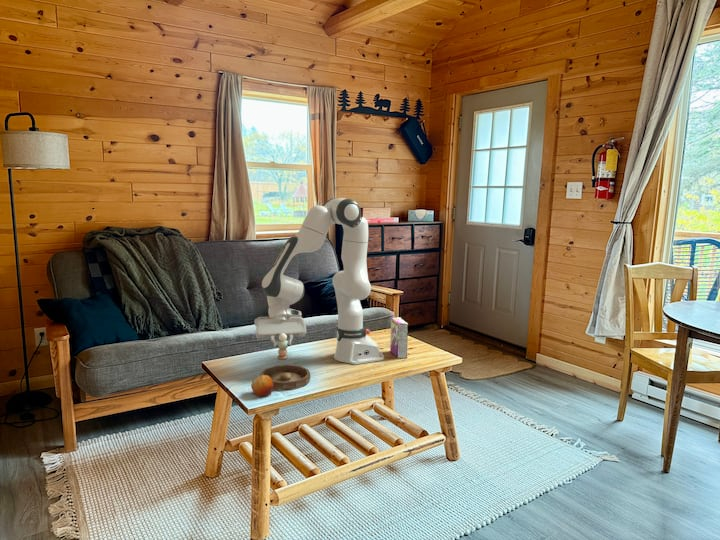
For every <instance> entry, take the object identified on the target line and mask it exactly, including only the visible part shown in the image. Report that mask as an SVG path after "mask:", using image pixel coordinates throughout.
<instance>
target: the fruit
mask: <svg viewBox="0 0 720 540" xmlns="http://www.w3.org/2000/svg"><path fill="white" fill-rule="evenodd" d="M250 385H251V389H252V392H253V393H254V394H255V395H256V396H257V397H260V398H263V397H267V396H271V395H272V392H273V390H274V389H273V386H274V383H273V380H272V379H271V378H270V377H269V376H268V375H262V376H260V375H259V376H257V377H256V378H255V379H254V380H253V381H252V383H251V384H250Z"/></svg>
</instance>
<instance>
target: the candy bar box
mask: <svg viewBox="0 0 720 540" xmlns="http://www.w3.org/2000/svg"><path fill="white" fill-rule="evenodd" d="M408 330H409V323H408V322H407V321H405V320H404V319H403V318H402V317H390V350H389V351H390V353H391V354H393V356H395V357H396V359H398V360H399V359H408V340H409V339H408V336H409V335H408V334H409V331H408Z"/></svg>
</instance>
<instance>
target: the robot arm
mask: <svg viewBox="0 0 720 540" xmlns="http://www.w3.org/2000/svg"><path fill="white" fill-rule="evenodd" d="M333 224H337V225H341V226H342V228H343V236H342V245H341V255H340V256H341V261H342V265H343V270H339V271H337V272H336V273H334V275H333V277H332V282H331V283H332V286H333V288H334V293H335V299H336V305H337V327H336V349H335V352H334V355H333V359H335V360H336V361H337V362H341V363H345V364H350V365H361V364H366V363H367V364H368V363H373V362H378V361H379V362H380V361H384V360H385V355H384V354H383V352H381V351H380V349H379V345H378V343H377V341H375V340H374V339H373V338H371V337H370V336H369V335H370V333H371V330H370V329H368V328H366V327H364V325H363V324H364V322H363V321H364V311H363V307H362V304H361V301H363V300H366V299H367V298H368V297H369V296H370V295H371V291H372V285H371V283H370V280H369V274H368V265H367V259H368V257H367V256H368V247H369V246H368V245H369V222H368V219H367V218H365V217H364V216H363V214H362V210H361V206H360V205H359V203H358V202H357V201H355V200H353V199H351V198H346V197H338V198H330V199H328V200H327V201H326V202H324V203H323V204H322V205H313V206H312V207H311V208H310V209H309V211H308V213H306V216H305V218H304V219H303V222H302V224H301V227H300V229H299V230H298V232H297V233H296V234H295V235H294V236H290V237H289V238H288V239H287V240H286V242H285V244H284V245H283V247H282V248H281V250H280V251H279V254H278V255H277V257H276V259H275V260H274V262H273V264H272V265H271V267H270V269H269V270H268V271H267V272H266V274H265V275H264V276H263V278H262V281H261V288H262V289H261V290H262V291H263V293H264V294H265V296H266V299H267V304H268V315H267V316H258V317H257V318H255V319H254V325H255V327H256V329H255V335H256V336H255V337H256V338H257V339H258V340H259V339H260V340H261V339H270V341H271V343H273V346H274V347H273V348H278V340H277V341H276V339H277V338H278V339H279V335H280V334H281V333H284V334H286V336H287V338H288V339H289V340H287V341H288V345H287V347H292V341H293V339H294V337H295V338H296V337H305V336H306V334H307V325H306V322H305V319H304V318H303V317H302V311H300V310H296V309H293V308H290V306H292V305H294V304H296V303H297V302H299V301H300V300H302V299H303V297H304V296H305V285H304V283H303V281H301V280H299V279H297V278H294V277H290V276H287V275H285V274H284V272H285V271H286V269H287V267H288V266H289V263H290V262H291V260H292V259H293V257H294V256H296V255H298V254H303V253H314V252H316V251H318V250H319V249H321V248H322V247H323V245H324V243H325V240H326V238H327V236H328V232H329V229H330V228H331V226H332V225H333Z"/></svg>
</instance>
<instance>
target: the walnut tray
mask: <svg viewBox="0 0 720 540" xmlns="http://www.w3.org/2000/svg"><path fill="white" fill-rule="evenodd" d="M262 375H268V376H269V377H270V378H271V379H272V380H273V383H274V386H273V390H274V389H276V390H277V391H288V390H289V391H293V390H296V389H300V388H302V387H305V386H307V385H308V384H309V383H310V381H311V372H310V370H309V368H306V367H304V366H301V365H296V364H295V365H294V364H282V365H273V366H271V367H266V368H265V369H263V370H262V371H261V372H260V375H259V376H262Z"/></svg>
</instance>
